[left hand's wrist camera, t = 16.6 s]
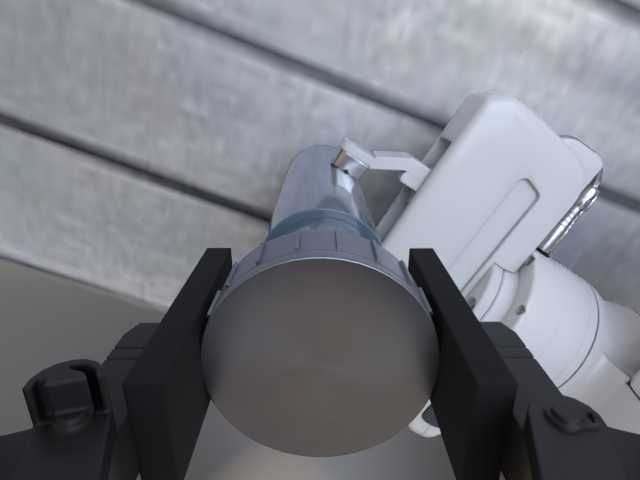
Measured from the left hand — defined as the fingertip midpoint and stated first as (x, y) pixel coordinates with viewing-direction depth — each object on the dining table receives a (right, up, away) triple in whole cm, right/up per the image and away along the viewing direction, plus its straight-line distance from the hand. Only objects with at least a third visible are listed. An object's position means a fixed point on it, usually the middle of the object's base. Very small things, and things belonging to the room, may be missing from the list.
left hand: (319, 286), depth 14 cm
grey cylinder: (0, +6, +16) cm, 17 cm away
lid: (0, -1, -4) cm, 4 cm away
